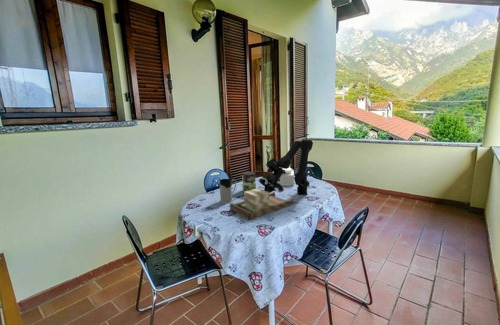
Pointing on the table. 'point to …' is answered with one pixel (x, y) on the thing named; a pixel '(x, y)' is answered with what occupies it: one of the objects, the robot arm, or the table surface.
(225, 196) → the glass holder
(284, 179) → the butter dish
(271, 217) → the table surface
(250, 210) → the trap lane
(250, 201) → the birch block
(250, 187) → the coffee can
